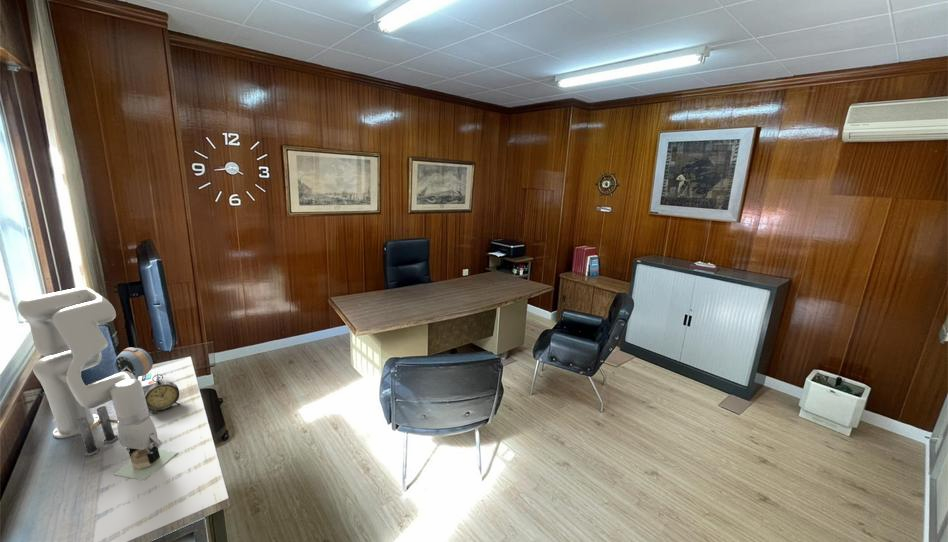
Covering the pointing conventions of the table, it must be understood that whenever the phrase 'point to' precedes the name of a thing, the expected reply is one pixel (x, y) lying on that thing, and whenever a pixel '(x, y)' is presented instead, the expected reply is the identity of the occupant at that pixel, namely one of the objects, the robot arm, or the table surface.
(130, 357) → the alarm clock
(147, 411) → the robot arm
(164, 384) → the alarm clock
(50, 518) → the table surface
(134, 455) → the pot
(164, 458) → the pad
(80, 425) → the rope barrier
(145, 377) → the light bulb box
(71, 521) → the table surface
